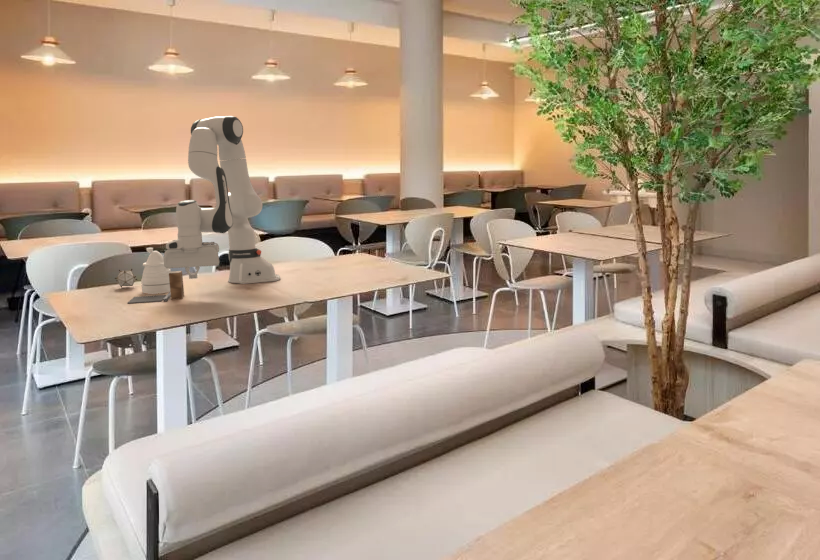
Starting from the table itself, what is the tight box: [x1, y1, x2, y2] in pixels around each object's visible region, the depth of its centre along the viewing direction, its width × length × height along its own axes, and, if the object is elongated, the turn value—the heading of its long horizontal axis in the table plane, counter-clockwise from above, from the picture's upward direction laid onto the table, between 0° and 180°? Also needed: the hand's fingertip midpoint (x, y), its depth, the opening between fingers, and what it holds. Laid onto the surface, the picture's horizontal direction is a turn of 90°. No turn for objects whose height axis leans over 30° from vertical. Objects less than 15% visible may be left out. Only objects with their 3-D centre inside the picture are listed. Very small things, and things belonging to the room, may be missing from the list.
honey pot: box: [140, 247, 172, 295], centre depth 261 cm, size 13×13×18 cm
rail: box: [162, 292, 171, 303], centre depth 246 cm, size 1×14×1 cm, turn 12°
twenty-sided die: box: [114, 268, 138, 288], centre depth 272 cm, size 9×8×10 cm
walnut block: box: [169, 270, 185, 301], centre depth 246 cm, size 4×6×10 cm, turn 12°
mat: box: [127, 294, 167, 305], centre depth 244 cm, size 12×12×1 cm
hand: (193, 278), depth 247 cm, fingers closed
